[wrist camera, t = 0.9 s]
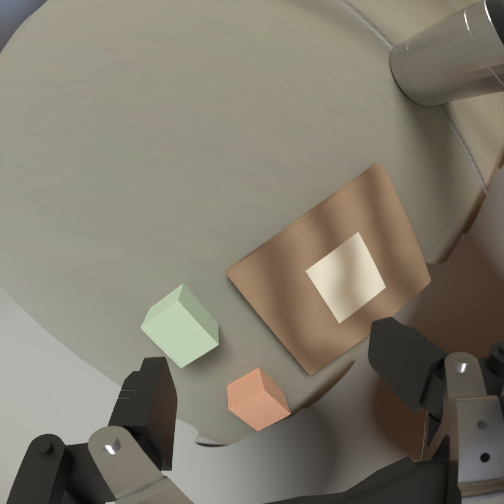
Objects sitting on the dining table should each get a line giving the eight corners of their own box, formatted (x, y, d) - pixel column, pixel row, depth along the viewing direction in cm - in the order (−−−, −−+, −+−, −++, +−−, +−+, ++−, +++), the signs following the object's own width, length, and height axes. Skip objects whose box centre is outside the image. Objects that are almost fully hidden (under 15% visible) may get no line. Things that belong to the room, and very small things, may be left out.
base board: (375, 164, 27) (382, 163, 26) (424, 277, 32) (431, 281, 30) (226, 270, 29) (226, 275, 27) (306, 368, 33) (310, 376, 31)
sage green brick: (183, 282, 29) (177, 300, 24) (218, 323, 30) (218, 344, 26) (150, 307, 29) (140, 327, 24) (185, 344, 30) (181, 368, 26)
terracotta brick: (258, 366, 32) (264, 389, 28) (283, 391, 34) (290, 414, 30) (226, 385, 32) (228, 409, 28) (253, 407, 34) (257, 431, 30)
